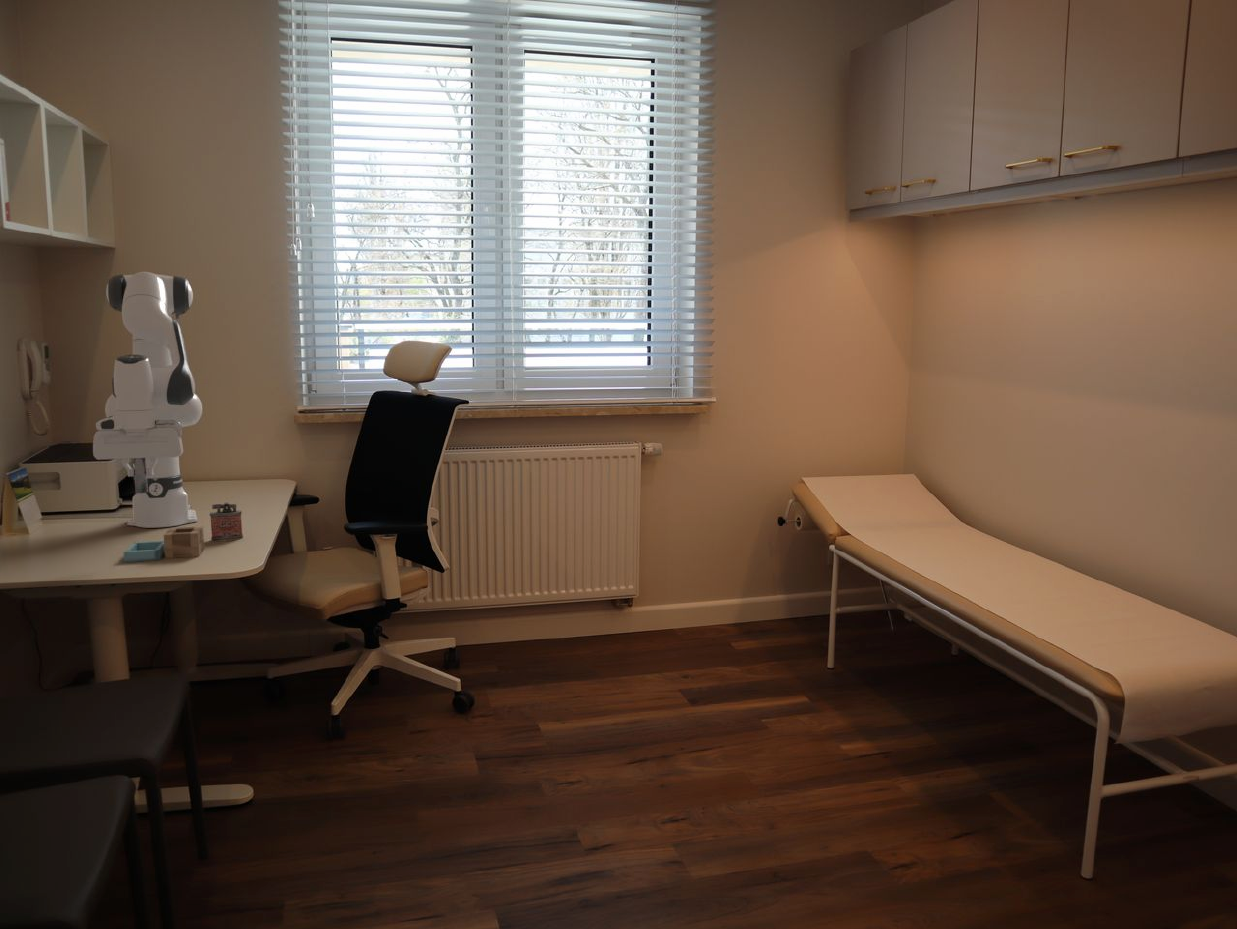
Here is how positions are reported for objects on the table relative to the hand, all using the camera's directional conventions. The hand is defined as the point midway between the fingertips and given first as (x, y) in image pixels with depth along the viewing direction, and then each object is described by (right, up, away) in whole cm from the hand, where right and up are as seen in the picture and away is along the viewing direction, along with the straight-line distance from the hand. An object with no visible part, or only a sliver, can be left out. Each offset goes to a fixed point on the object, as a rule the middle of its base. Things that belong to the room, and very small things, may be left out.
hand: (140, 475), depth 248 cm
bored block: (+9, -20, +6) cm, 22 cm away
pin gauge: (0, -4, 0) cm, 4 cm away
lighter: (+13, -18, +22) cm, 31 cm away
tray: (0, -20, +3) cm, 21 cm away
